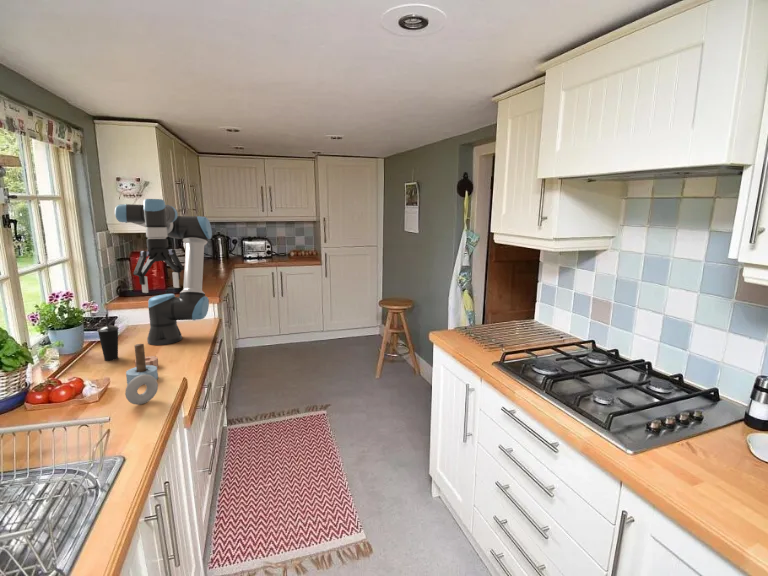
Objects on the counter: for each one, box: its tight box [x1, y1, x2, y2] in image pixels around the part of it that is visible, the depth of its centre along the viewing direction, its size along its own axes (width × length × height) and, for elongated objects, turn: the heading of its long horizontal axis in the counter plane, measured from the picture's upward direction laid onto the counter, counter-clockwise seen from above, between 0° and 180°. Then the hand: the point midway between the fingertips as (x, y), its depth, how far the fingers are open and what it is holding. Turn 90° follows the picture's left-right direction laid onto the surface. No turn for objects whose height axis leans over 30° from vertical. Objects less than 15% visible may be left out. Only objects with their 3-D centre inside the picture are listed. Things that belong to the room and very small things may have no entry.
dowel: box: [134, 343, 146, 372], centre depth 150 cm, size 3×3×14 cm
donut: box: [124, 374, 159, 406], centre depth 132 cm, size 10×4×10 cm, turn 148°
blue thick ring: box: [125, 365, 159, 385], centre depth 151 cm, size 10×10×4 cm
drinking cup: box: [96, 313, 120, 362], centre depth 171 cm, size 8×8×20 cm
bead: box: [134, 355, 159, 368], centre depth 164 cm, size 8×8×4 cm
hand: (161, 290), depth 163 cm, fingers open, 13 cm apart
